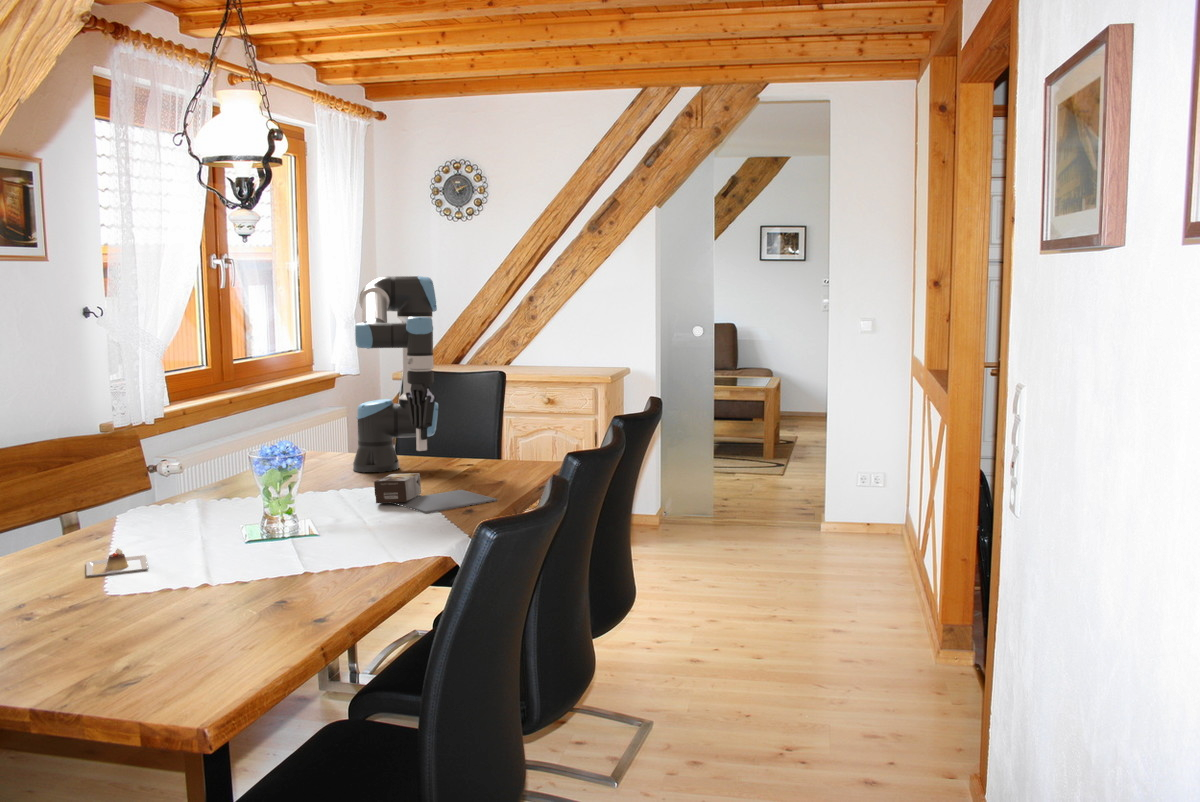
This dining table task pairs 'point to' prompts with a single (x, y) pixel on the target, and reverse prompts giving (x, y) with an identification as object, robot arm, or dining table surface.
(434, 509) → the mat
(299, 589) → the dining table surface
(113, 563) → the dessert
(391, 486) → the coffee box
